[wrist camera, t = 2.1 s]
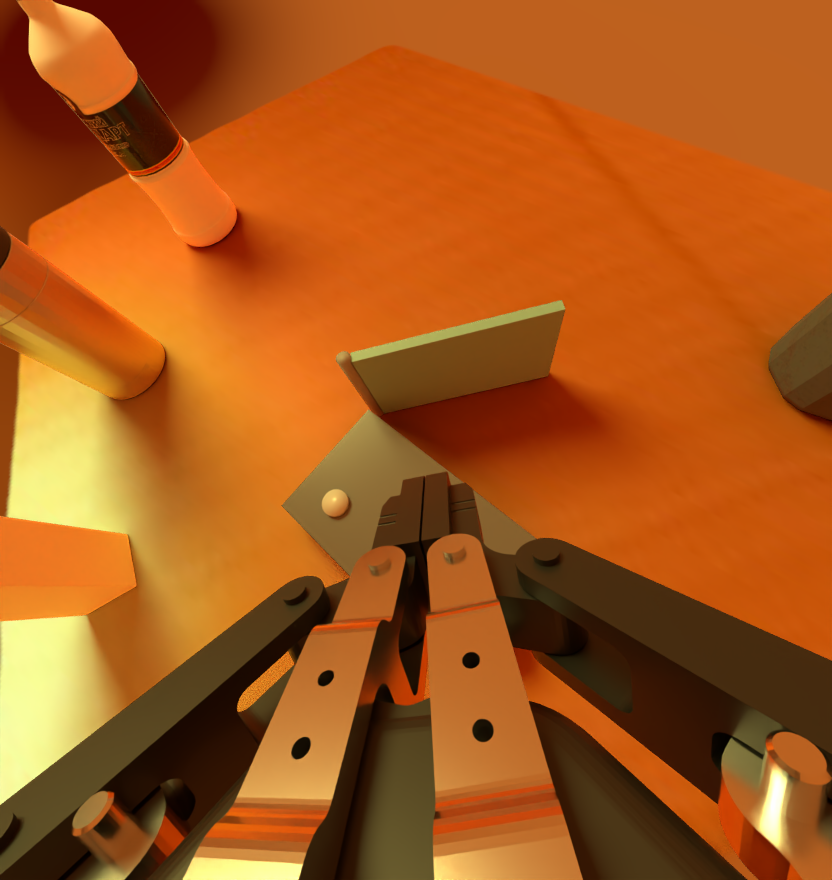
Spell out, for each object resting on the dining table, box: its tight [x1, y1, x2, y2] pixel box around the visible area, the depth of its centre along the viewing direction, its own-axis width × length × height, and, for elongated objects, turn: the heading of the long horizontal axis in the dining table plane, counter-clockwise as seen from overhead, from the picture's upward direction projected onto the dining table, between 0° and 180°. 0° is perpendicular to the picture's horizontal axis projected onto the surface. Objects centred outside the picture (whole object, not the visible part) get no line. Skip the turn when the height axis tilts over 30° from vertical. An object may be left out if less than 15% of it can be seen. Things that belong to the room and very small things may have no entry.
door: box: [336, 300, 565, 417], centre depth 35 cm, size 18×1×10 cm, turn 99°
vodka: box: [17, 0, 237, 247], centre depth 43 cm, size 9×9×30 cm
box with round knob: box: [282, 410, 536, 613], centre depth 33 cm, size 22×12×4 cm, turn 49°
